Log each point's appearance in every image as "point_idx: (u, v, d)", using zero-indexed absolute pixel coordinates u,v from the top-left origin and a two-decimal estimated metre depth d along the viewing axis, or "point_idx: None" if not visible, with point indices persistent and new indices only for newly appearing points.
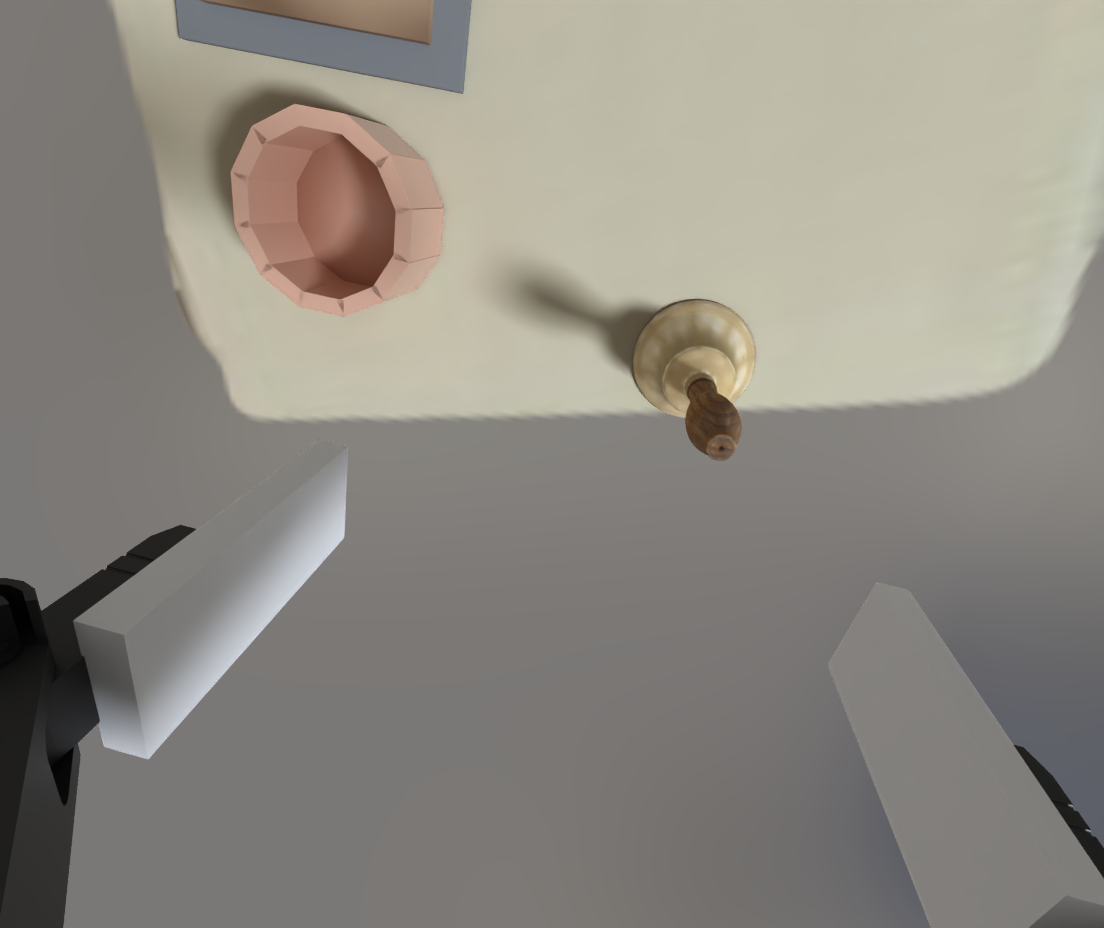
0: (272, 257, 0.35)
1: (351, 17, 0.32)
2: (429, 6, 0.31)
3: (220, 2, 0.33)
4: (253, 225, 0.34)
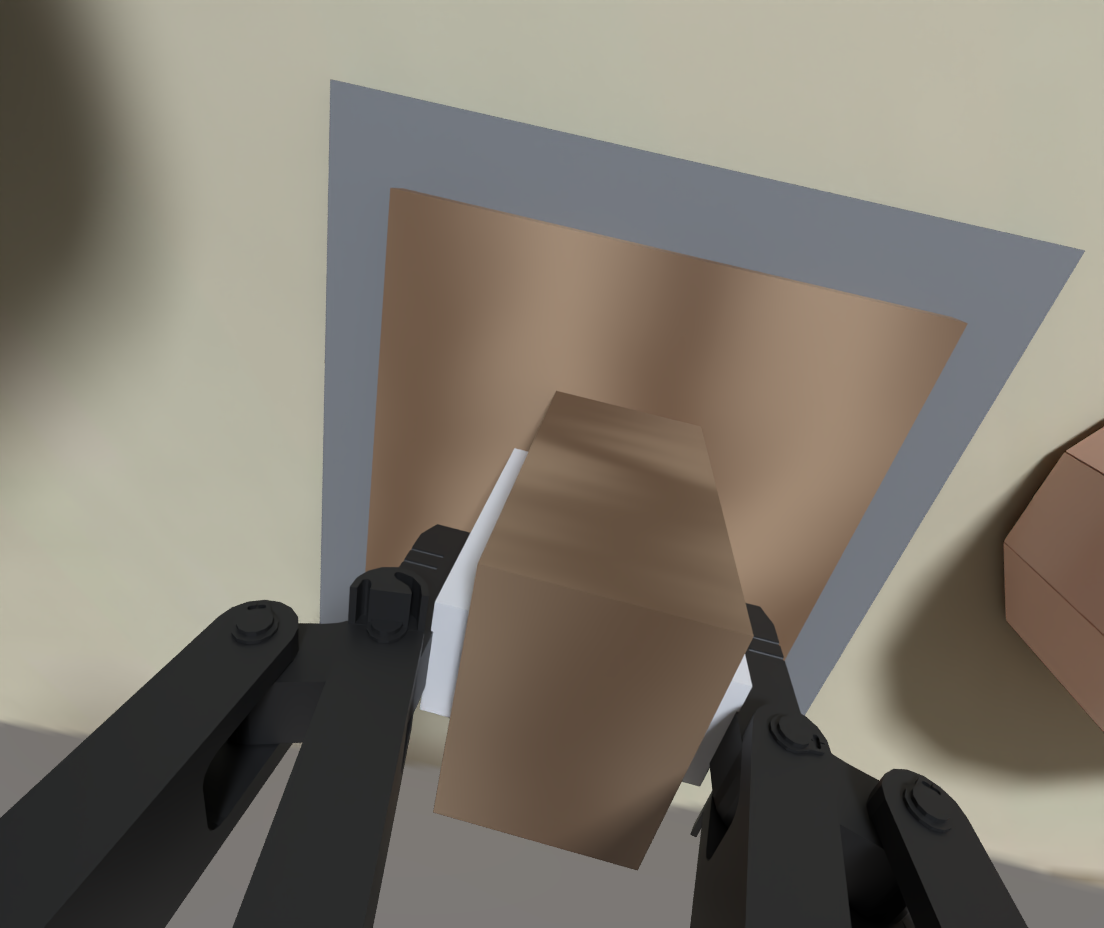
0: None
1: (860, 484, 0.15)
2: (893, 305, 0.13)
3: None
4: None
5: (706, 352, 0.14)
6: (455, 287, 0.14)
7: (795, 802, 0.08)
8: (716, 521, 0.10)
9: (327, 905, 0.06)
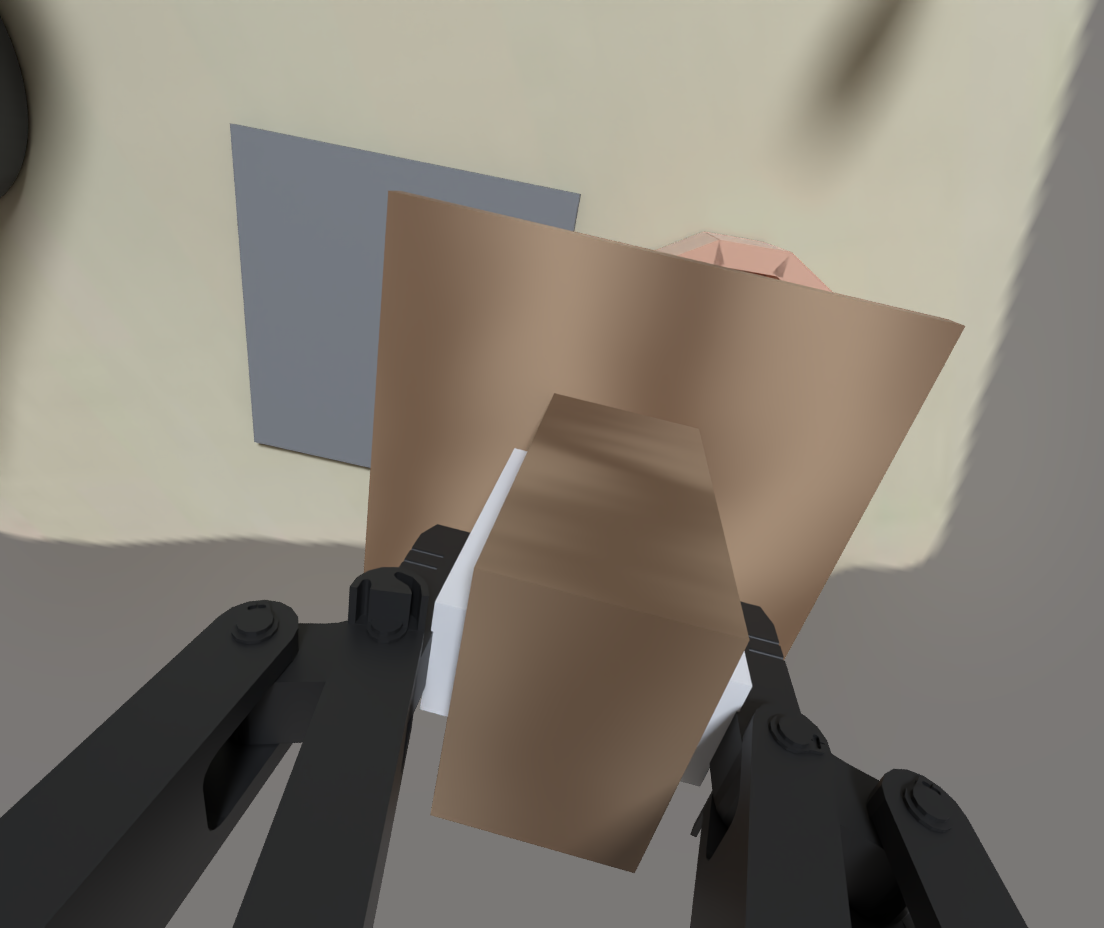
0: None
1: (857, 486, 0.15)
2: (891, 308, 0.13)
3: None
4: None
5: (703, 355, 0.14)
6: (453, 289, 0.14)
7: (795, 802, 0.08)
8: (713, 523, 0.11)
9: (327, 904, 0.06)
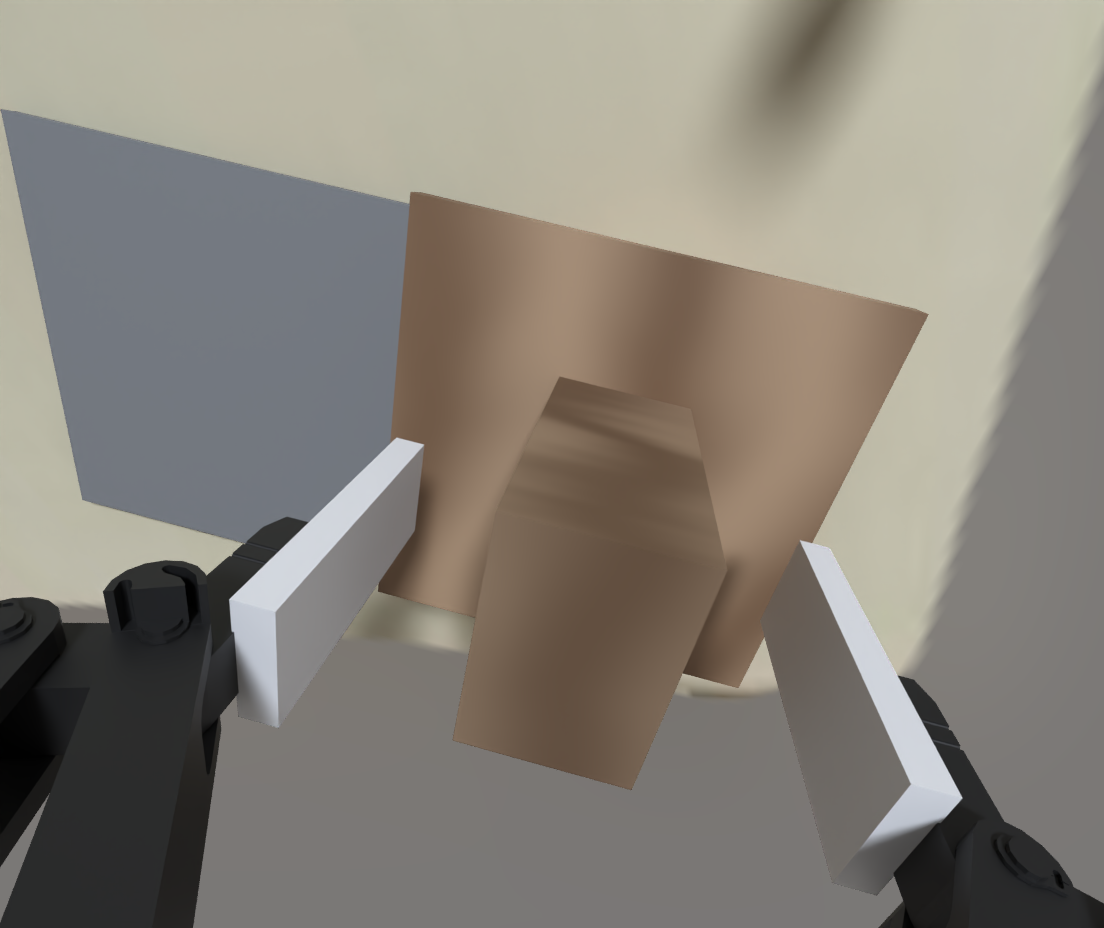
0: None
1: (835, 461, 0.16)
2: (861, 298, 0.15)
3: (751, 659, 0.20)
4: None
5: (694, 341, 0.16)
6: (468, 282, 0.16)
7: None
8: (701, 484, 0.12)
9: (102, 924, 0.05)
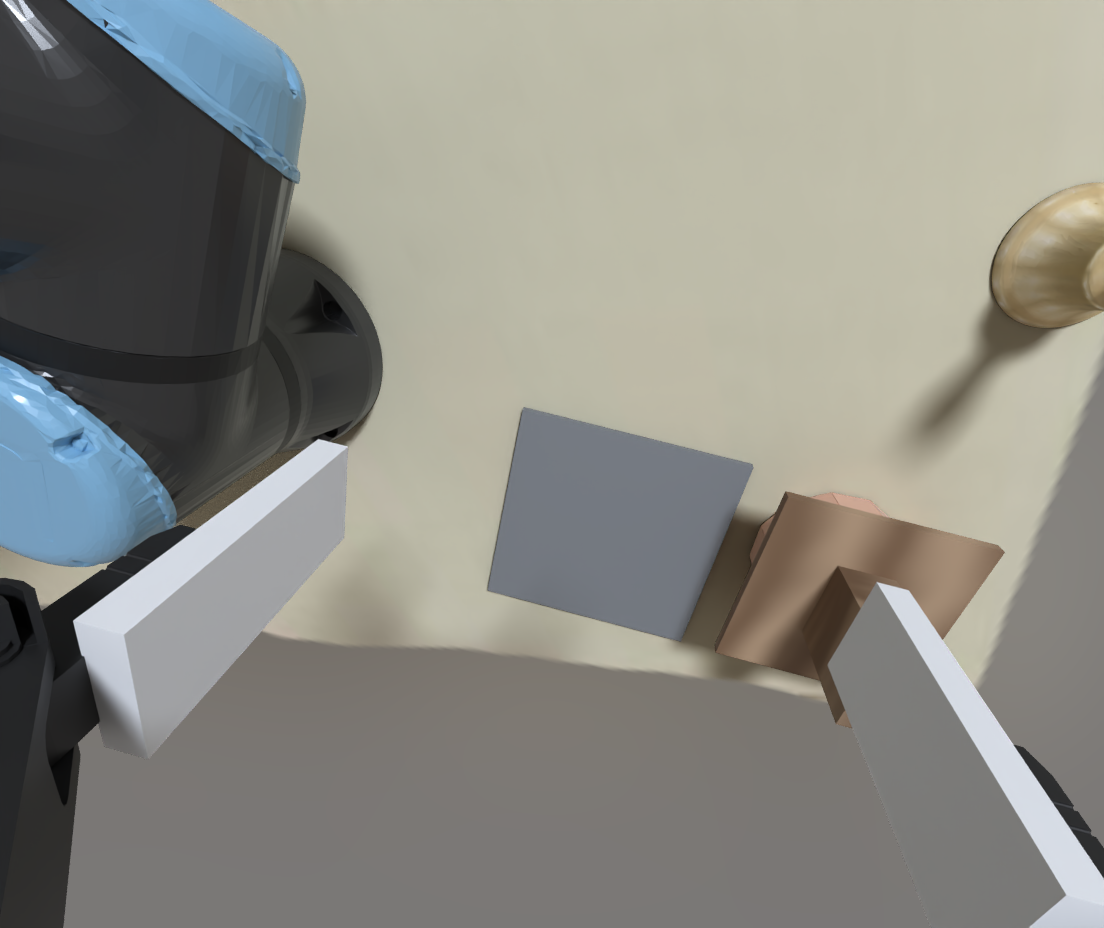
0: None
1: (959, 603, 0.38)
2: (977, 544, 0.36)
3: None
4: None
5: (903, 555, 0.37)
6: (805, 529, 0.37)
7: None
8: None
9: None
